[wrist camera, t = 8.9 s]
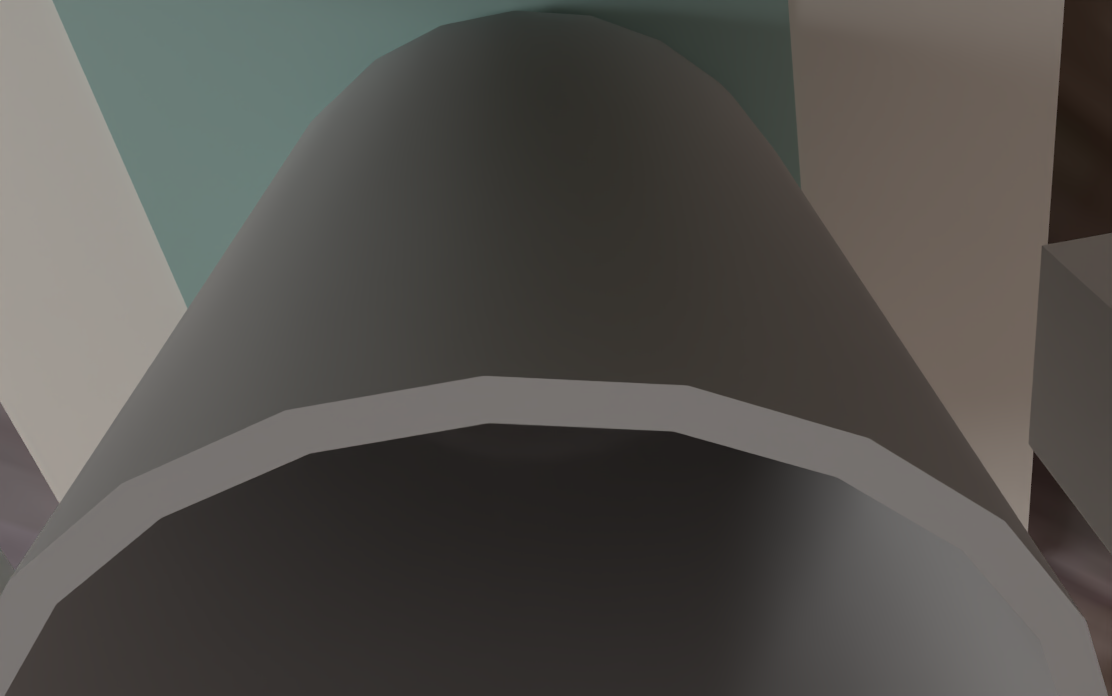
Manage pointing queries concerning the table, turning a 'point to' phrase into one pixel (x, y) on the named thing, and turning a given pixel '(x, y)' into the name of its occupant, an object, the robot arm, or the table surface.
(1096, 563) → the table surface
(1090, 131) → the table surface
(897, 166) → the board
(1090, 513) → the robot arm
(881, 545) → the cup
